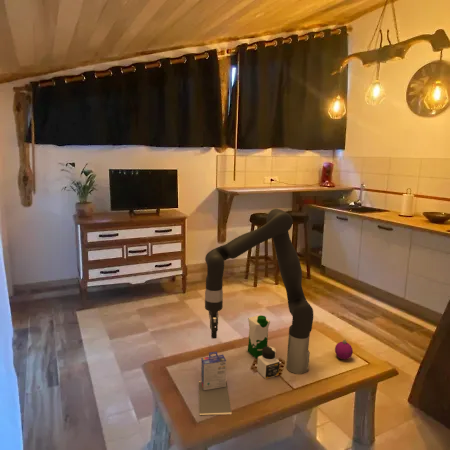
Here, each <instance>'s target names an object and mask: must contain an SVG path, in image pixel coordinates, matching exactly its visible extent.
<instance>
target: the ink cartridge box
mask: <svg viewBox="0 0 450 450" xmlns="http://www.w3.org/2000/svg"><path fill="white" fill-rule="evenodd" d="M211 355H212V356H211ZM200 359H201V360H200V361H201V362H200V363H201V368H200V369H201V370H200V371H201V375H200V376H201V380H200V381H201V384H202V388H203V390H209V389H215V388H221V387H226V380H227V379H226V378H227V359H226V357H225V355H224V354H223V353H222V354H218V351H212V352H211V351H210V352H209V351H208V356H205V357H201V358H200Z"/></svg>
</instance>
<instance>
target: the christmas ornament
mask: <svg viewBox="0 0 450 450" xmlns="http://www.w3.org/2000/svg"><path fill="white" fill-rule="evenodd" d="M334 352H335V355H336V356H337V358H338V359H340V360H348V359H350V358H351V357H352V356H353V353H354V352H353V347H352V345H351V344H350V343H348V342H347V340H346V339H344V340H342V341H340V342H338V343H336V345H335V347H334Z"/></svg>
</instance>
